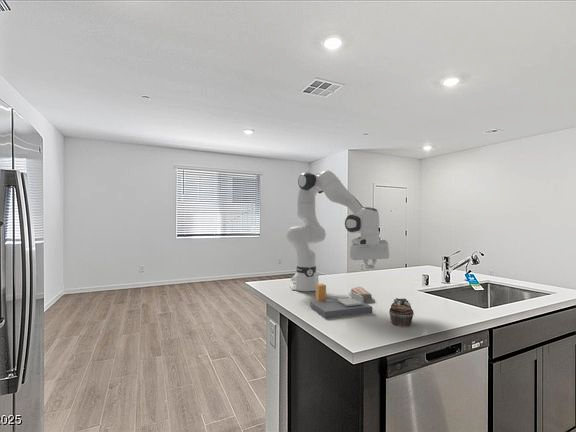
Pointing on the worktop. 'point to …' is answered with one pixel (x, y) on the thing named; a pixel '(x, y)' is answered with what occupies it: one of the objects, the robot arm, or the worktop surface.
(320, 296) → the orange block
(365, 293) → the packaged product
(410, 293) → the worktop surface
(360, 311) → the socket plate
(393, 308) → the cupcake
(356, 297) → the shutter
